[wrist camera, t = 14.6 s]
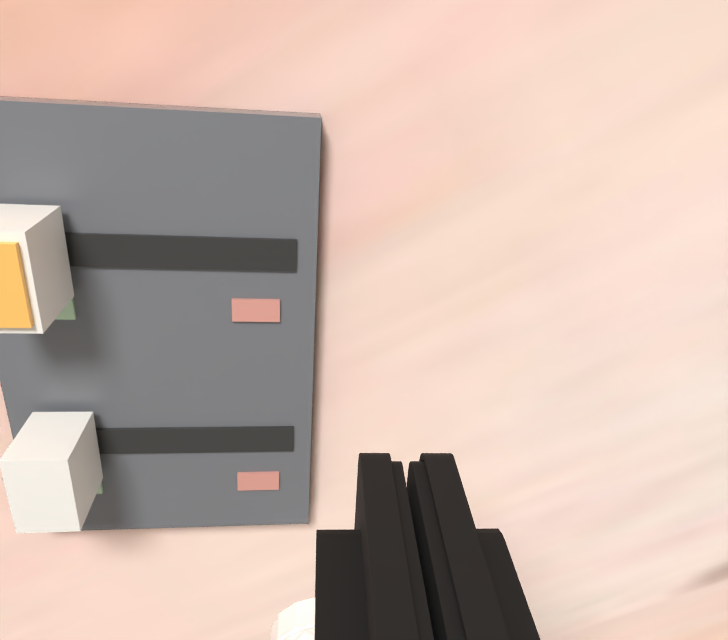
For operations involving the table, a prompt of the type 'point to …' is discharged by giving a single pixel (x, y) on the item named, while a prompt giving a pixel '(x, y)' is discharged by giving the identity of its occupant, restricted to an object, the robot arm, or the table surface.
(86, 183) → the breaker panel
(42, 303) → the block
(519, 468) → the table surface
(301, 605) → the white cup
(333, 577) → the robot arm
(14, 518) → the block
